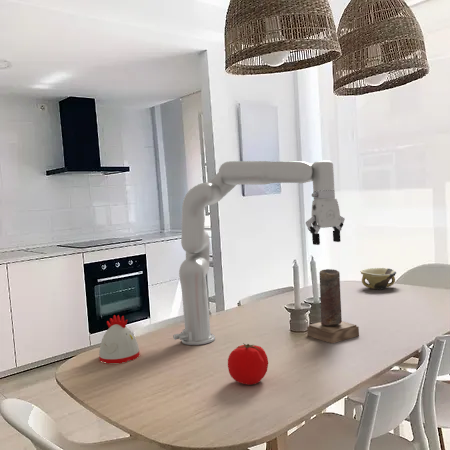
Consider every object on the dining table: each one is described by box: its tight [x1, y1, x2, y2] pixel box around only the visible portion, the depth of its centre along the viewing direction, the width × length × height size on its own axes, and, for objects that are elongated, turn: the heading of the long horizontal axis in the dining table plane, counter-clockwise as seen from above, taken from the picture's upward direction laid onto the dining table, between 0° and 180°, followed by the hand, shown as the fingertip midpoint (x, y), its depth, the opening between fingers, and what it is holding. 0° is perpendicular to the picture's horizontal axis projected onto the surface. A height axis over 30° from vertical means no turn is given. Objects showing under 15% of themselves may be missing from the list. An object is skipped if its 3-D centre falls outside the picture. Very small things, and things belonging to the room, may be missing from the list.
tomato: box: [227, 342, 269, 386], centre depth 141 cm, size 12×12×11 cm
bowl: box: [360, 267, 397, 290], centre depth 255 cm, size 18×18×10 cm
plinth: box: [306, 320, 360, 344], centre depth 179 cm, size 13×13×4 cm
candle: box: [319, 268, 343, 326], centre depth 179 cm, size 8×7×20 cm
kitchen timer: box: [98, 314, 141, 364], centre depth 172 cm, size 14×14×15 cm
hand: (326, 243), depth 177 cm, fingers open, 9 cm apart
